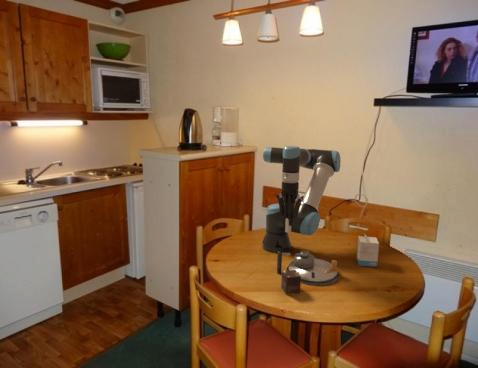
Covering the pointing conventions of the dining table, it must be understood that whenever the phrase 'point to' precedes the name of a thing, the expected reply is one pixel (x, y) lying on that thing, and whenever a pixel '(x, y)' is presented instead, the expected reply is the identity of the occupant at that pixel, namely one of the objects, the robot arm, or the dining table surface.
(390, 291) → the dining table surface
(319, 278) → the turntable
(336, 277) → the plinth
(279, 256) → the indicator post
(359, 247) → the ink box
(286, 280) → the box
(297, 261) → the cover
